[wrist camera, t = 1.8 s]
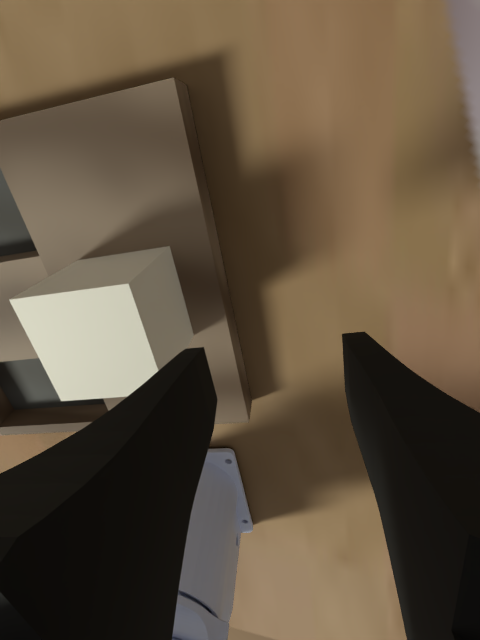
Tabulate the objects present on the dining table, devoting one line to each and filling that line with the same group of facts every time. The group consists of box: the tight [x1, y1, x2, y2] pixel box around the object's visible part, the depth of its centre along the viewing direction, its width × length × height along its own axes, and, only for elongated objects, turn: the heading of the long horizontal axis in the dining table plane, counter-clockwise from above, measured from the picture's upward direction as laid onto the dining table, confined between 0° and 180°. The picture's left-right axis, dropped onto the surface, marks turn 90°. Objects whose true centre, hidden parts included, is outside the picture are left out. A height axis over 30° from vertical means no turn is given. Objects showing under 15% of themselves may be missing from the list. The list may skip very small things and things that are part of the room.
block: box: [9, 246, 194, 401], centre depth 16 cm, size 5×5×5 cm
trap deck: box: [0, 77, 252, 435], centre depth 20 cm, size 18×25×4 cm
